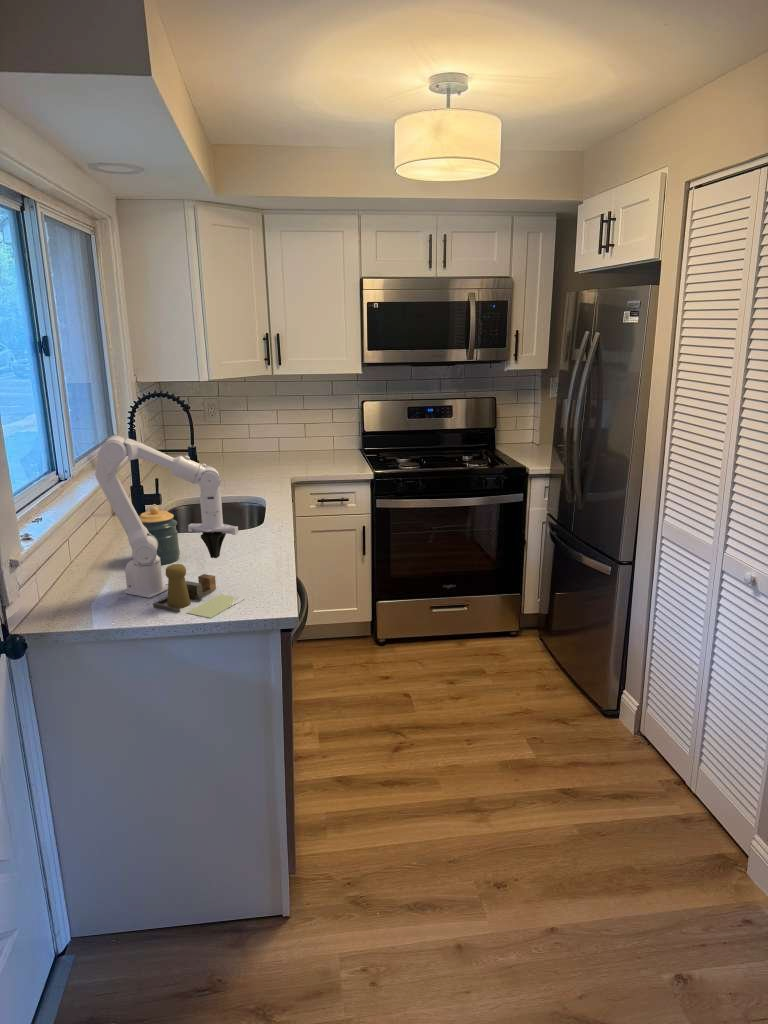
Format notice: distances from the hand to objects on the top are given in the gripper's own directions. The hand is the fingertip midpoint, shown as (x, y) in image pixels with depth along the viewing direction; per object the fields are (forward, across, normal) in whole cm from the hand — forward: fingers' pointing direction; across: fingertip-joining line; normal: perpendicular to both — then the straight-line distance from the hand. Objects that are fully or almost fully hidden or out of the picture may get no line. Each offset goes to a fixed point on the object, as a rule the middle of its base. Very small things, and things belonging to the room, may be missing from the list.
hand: (215, 557), depth 192 cm
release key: (+8, -1, -7) cm, 11 cm away
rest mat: (+8, +7, -15) cm, 18 cm away
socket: (+8, -3, -13) cm, 16 cm away
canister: (+9, -29, +17) cm, 35 cm away
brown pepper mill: (+9, -3, -16) cm, 18 cm away
